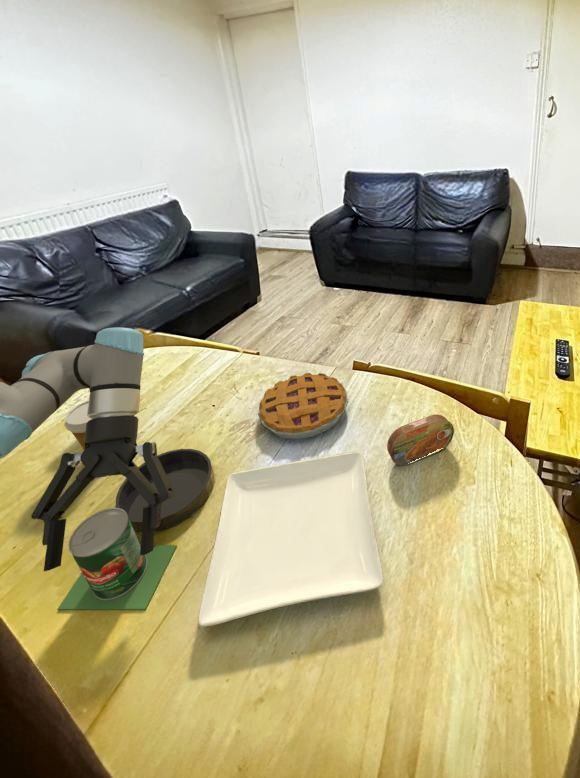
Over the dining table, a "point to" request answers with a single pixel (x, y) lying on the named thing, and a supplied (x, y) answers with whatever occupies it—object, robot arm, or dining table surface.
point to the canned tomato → (108, 553)
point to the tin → (419, 439)
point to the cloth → (132, 600)
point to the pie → (303, 406)
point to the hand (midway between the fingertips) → (100, 561)
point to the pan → (188, 481)
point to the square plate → (291, 538)
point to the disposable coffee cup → (78, 421)
